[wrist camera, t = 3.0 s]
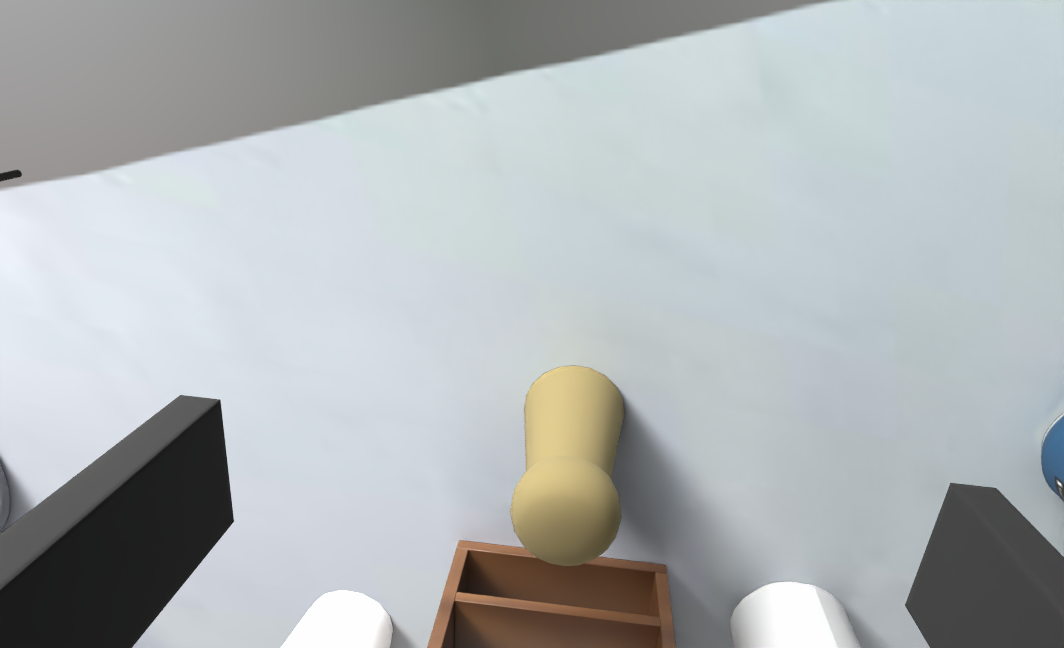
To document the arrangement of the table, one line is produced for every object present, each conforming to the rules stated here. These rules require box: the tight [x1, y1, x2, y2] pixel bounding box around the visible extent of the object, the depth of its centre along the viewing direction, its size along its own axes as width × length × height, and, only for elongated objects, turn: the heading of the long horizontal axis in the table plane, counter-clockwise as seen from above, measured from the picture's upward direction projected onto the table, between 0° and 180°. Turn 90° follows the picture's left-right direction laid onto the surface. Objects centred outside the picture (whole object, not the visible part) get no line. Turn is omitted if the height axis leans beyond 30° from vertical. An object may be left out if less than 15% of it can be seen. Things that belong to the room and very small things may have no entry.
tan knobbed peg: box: [510, 366, 624, 566], centre depth 34 cm, size 6×6×11 cm
